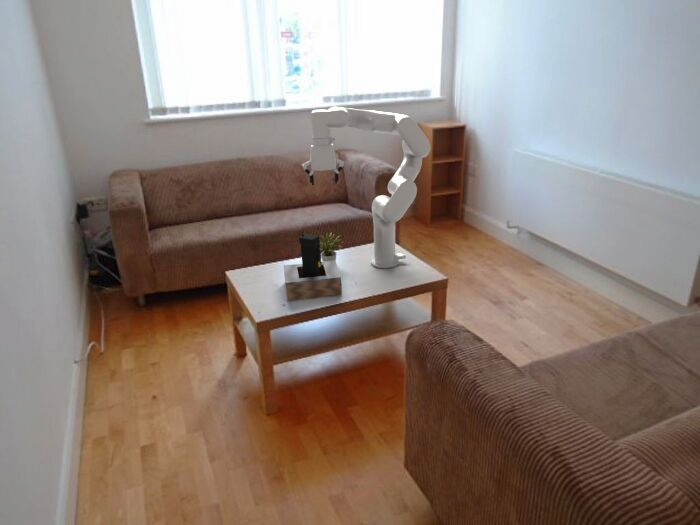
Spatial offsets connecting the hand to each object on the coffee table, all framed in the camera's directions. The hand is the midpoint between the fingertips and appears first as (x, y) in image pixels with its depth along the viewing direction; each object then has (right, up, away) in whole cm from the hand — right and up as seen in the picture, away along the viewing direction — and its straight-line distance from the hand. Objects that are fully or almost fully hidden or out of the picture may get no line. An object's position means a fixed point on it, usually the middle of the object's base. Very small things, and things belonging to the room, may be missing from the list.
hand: (324, 183), depth 215 cm
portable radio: (-4, -43, +1) cm, 43 cm away
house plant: (+1, -35, +21) cm, 41 cm away
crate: (-5, -44, +1) cm, 44 cm away
